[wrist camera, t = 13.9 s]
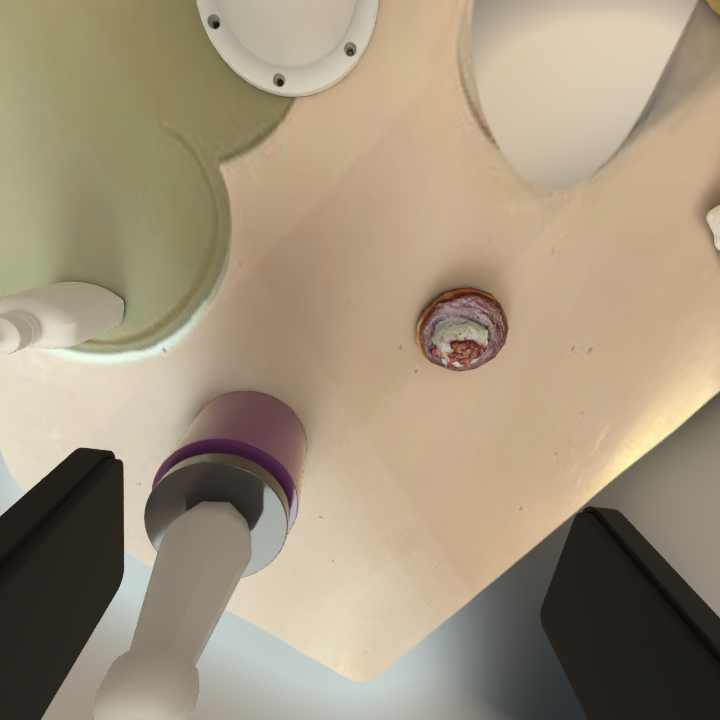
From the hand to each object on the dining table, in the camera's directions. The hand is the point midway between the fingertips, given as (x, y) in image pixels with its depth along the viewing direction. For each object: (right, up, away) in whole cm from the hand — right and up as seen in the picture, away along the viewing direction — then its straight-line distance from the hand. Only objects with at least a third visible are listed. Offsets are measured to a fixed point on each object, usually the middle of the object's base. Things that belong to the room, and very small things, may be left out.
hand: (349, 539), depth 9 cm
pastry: (+9, +7, +30) cm, 32 cm away
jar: (-10, -4, +33) cm, 35 cm away
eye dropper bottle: (-22, +9, +28) cm, 37 cm away
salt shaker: (-10, -8, +22) cm, 26 cm away
